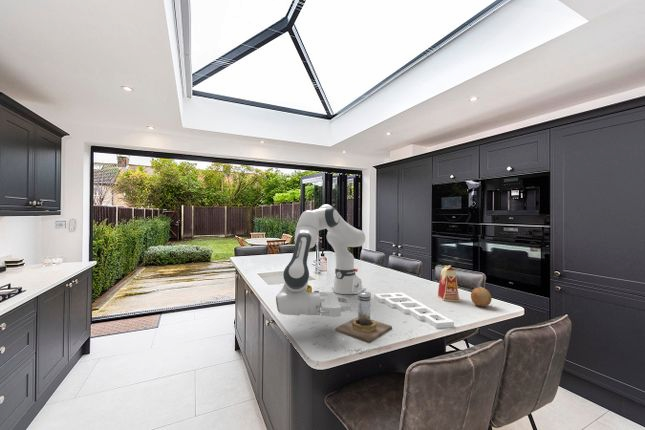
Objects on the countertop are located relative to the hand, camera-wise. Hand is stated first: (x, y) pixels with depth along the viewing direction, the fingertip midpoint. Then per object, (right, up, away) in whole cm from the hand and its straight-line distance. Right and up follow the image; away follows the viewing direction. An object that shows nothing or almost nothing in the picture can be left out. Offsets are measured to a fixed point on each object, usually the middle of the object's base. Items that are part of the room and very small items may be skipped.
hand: (349, 303), depth 114 cm
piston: (+6, -10, +1) cm, 12 cm away
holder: (+32, -12, +25) cm, 42 cm away
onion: (+74, -12, +33) cm, 82 cm away
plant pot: (-22, -10, +29) cm, 38 cm away
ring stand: (+6, -11, +1) cm, 12 cm away
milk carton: (+61, -12, +45) cm, 77 cm away
